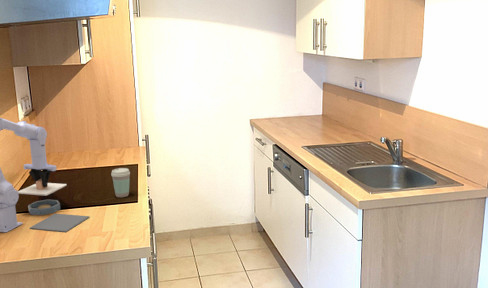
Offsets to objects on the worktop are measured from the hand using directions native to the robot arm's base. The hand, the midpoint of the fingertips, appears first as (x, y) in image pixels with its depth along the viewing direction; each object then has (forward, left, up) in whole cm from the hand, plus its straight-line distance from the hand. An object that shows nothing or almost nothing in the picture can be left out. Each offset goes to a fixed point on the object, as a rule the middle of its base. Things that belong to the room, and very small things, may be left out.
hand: (42, 186), depth 212 cm
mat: (-12, -16, -10) cm, 23 cm away
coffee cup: (+25, -23, -11) cm, 36 cm away
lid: (0, 0, -1) cm, 1 cm away
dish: (0, 0, -10) cm, 10 cm away
